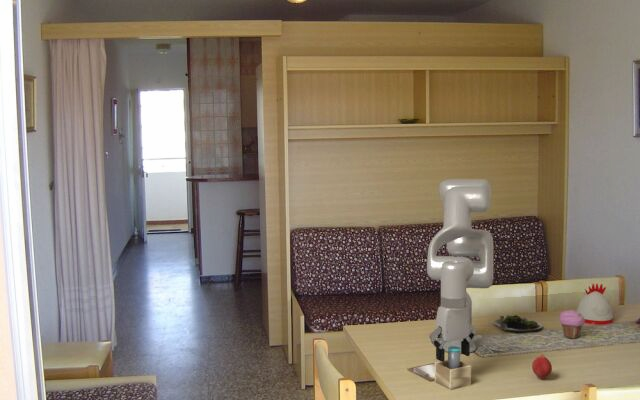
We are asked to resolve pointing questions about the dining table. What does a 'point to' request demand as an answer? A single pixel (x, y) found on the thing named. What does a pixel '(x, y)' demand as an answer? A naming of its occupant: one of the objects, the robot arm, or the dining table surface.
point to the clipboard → (425, 371)
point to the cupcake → (571, 323)
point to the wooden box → (452, 375)
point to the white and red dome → (595, 307)
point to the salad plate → (518, 324)
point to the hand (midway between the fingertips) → (452, 357)
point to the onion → (542, 367)
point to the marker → (453, 357)
